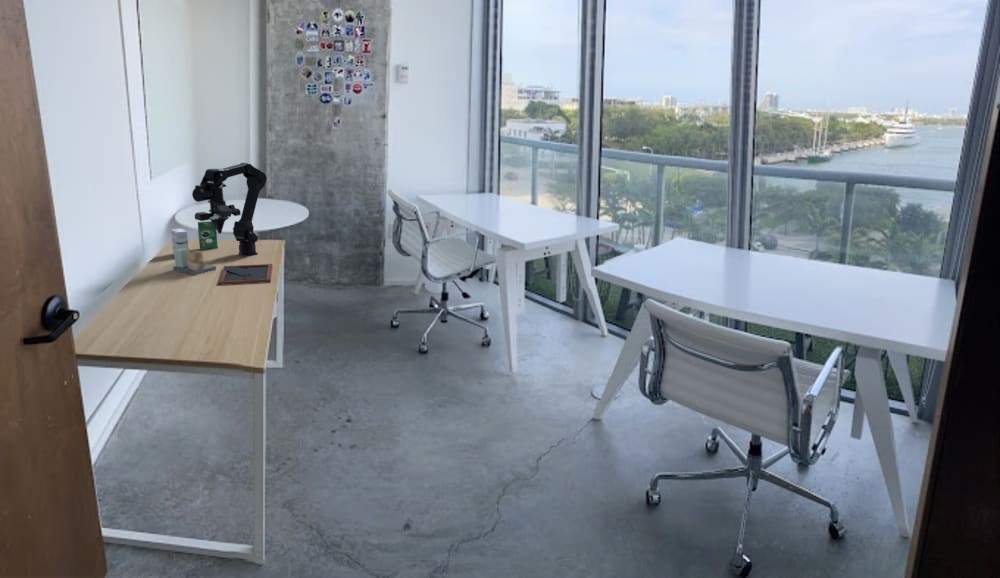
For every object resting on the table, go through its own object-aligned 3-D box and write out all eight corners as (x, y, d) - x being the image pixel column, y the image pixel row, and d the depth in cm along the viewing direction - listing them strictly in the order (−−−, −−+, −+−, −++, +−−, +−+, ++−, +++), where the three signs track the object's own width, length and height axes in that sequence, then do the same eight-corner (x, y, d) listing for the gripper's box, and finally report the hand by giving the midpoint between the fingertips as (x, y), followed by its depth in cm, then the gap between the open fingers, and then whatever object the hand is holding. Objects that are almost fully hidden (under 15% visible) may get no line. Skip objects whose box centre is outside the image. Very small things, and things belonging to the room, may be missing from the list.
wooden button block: (196, 266, 314) (195, 250, 312) (203, 268, 312) (202, 251, 310) (187, 268, 310) (185, 252, 308) (194, 270, 308) (192, 253, 306)
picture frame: (224, 270, 318) (218, 286, 295) (223, 265, 318) (218, 281, 295) (272, 267, 323) (270, 283, 300) (272, 263, 323) (270, 278, 300)
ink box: (190, 256, 337) (187, 231, 334) (178, 257, 334) (175, 232, 331) (184, 252, 343) (181, 227, 340) (173, 254, 340) (170, 229, 337)
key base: (194, 264, 323) (194, 261, 323) (215, 269, 316) (215, 266, 316) (173, 270, 315) (173, 266, 314) (194, 275, 308) (194, 271, 307)
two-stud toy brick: (184, 263, 318) (183, 247, 316) (191, 265, 316) (189, 249, 314) (175, 266, 314) (173, 249, 312) (182, 267, 312) (180, 251, 310)
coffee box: (217, 246, 354) (215, 220, 351) (218, 248, 352) (215, 221, 348) (199, 248, 351) (196, 221, 347) (200, 249, 348) (197, 222, 345)
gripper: (205, 203, 309) (209, 239, 313) (245, 198, 322) (248, 232, 327) (192, 200, 316) (196, 235, 320) (232, 194, 329) (235, 229, 334)
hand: (219, 233), depth 325 cm, fingers closed
